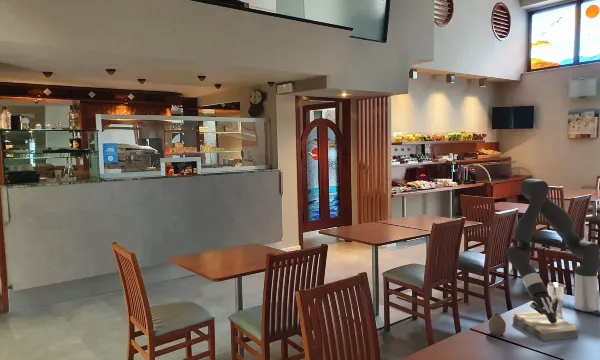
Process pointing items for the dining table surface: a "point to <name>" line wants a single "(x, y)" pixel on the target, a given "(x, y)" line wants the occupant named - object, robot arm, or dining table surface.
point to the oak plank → (552, 326)
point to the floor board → (523, 323)
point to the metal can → (557, 296)
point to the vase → (497, 325)
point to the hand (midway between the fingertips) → (554, 322)
